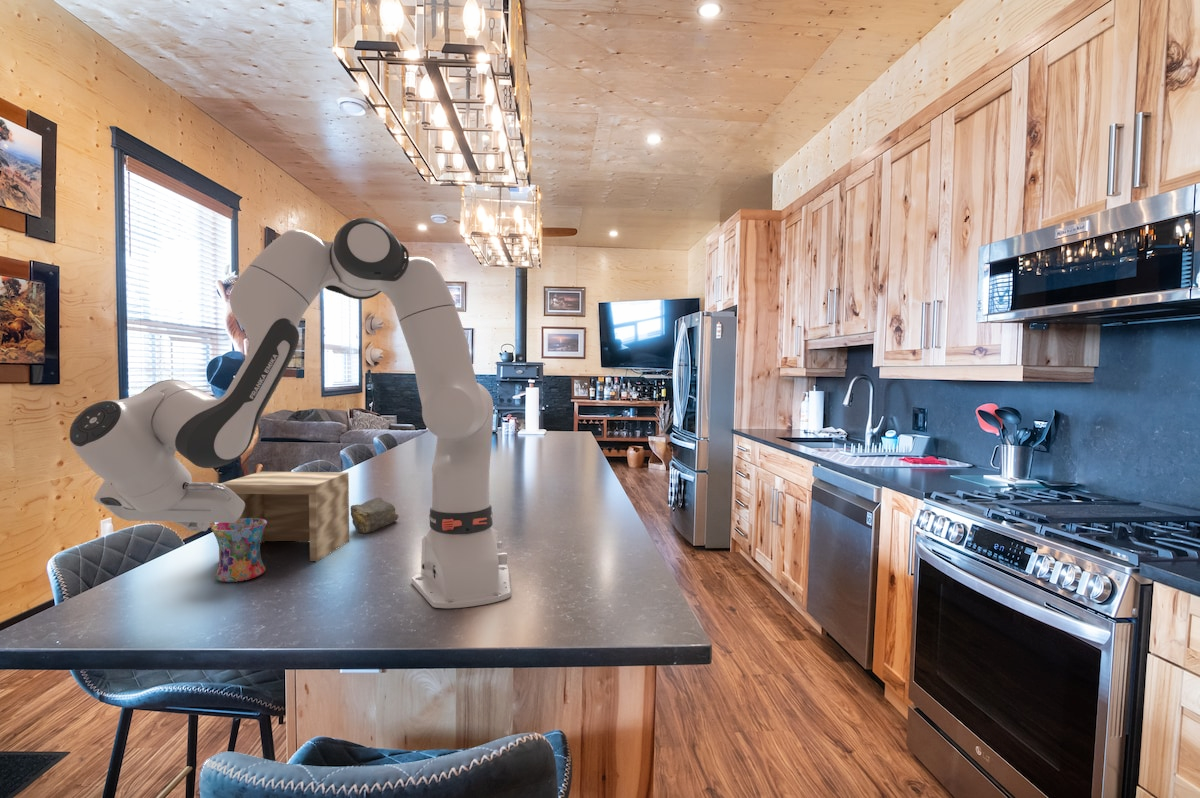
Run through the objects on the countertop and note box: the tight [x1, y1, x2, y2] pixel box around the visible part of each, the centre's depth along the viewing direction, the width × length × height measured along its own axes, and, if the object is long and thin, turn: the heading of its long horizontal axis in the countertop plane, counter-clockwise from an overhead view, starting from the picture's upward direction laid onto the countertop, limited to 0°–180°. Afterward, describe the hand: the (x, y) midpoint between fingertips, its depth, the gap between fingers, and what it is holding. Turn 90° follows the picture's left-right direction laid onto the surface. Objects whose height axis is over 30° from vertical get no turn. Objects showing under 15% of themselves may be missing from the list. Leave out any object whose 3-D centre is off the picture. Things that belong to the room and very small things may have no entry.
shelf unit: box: [218, 471, 350, 562], centre depth 131 cm, size 16×21×16 cm
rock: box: [350, 496, 400, 534], centre depth 152 cm, size 17×7×10 cm
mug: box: [210, 518, 267, 583], centre depth 116 cm, size 12×9×11 cm
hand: (200, 527), depth 104 cm, fingers closed
